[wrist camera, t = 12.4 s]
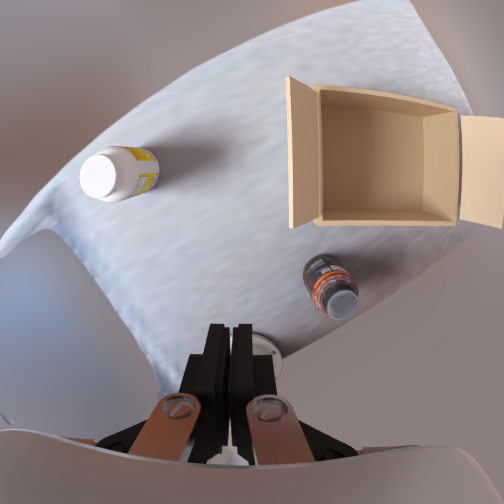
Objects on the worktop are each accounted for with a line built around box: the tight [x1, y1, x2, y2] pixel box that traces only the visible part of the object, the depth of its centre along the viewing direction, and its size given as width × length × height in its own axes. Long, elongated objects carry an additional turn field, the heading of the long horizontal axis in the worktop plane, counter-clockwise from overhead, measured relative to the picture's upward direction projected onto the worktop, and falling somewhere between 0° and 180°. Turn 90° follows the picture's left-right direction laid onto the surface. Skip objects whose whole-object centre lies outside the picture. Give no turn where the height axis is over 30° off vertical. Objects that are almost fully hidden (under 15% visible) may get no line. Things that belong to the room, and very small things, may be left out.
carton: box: [311, 84, 459, 226], centre depth 35 cm, size 16×20×9 cm
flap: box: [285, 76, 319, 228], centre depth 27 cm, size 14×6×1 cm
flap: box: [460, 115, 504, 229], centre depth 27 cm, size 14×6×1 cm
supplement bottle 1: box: [80, 146, 159, 203], centre depth 33 cm, size 7×7×13 cm
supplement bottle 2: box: [303, 255, 359, 320], centre depth 38 cm, size 6×6×11 cm
